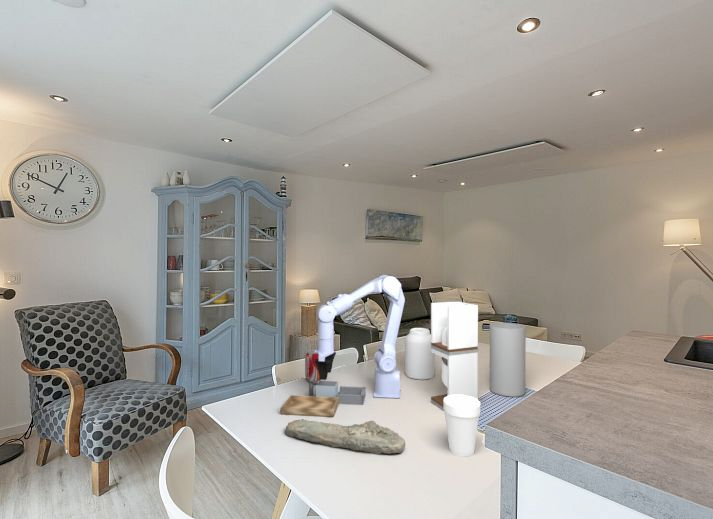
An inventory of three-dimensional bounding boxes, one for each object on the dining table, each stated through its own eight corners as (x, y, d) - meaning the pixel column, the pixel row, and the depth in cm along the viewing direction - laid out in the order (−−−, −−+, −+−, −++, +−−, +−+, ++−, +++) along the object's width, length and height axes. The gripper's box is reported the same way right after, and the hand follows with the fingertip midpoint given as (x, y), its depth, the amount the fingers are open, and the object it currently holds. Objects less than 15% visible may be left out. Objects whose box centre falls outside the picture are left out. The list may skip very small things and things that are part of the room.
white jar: (432, 371, 163) (432, 326, 163) (436, 380, 151) (436, 332, 150) (404, 370, 164) (404, 326, 164) (405, 379, 152) (405, 331, 152)
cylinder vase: (529, 399, 131) (529, 329, 131) (492, 396, 134) (492, 328, 134) (520, 386, 144) (521, 323, 143) (487, 384, 146) (487, 322, 146)
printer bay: (365, 395, 135) (365, 387, 135) (363, 404, 127) (363, 396, 127) (340, 394, 136) (340, 386, 136) (336, 403, 128) (336, 394, 128)
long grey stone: (296, 428, 113) (279, 446, 103) (294, 411, 112) (277, 428, 103) (408, 440, 101) (401, 461, 92) (407, 421, 101) (400, 441, 92)
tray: (338, 404, 127) (338, 397, 127) (333, 417, 117) (333, 409, 117) (290, 402, 129) (290, 395, 129) (281, 414, 119) (281, 407, 119)
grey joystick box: (338, 397, 134) (338, 381, 134) (335, 401, 129) (335, 385, 129) (310, 395, 136) (310, 379, 135) (307, 400, 131) (307, 384, 131)
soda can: (319, 383, 148) (319, 353, 148) (302, 382, 149) (302, 353, 149) (324, 377, 155) (324, 349, 155) (308, 376, 156) (308, 348, 156)
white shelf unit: (458, 397, 133) (458, 301, 132) (477, 409, 123) (477, 305, 122) (431, 402, 128) (431, 303, 128) (449, 414, 119) (449, 306, 118)
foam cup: (439, 441, 101) (439, 395, 101) (471, 440, 102) (471, 393, 102) (450, 461, 92) (450, 409, 92) (486, 459, 93) (486, 408, 93)
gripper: (319, 333, 140) (319, 369, 140) (310, 342, 126) (310, 382, 126) (337, 334, 139) (337, 369, 139) (330, 343, 125) (330, 383, 125)
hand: (325, 375), depth 132 cm, fingers open, 7 cm apart
